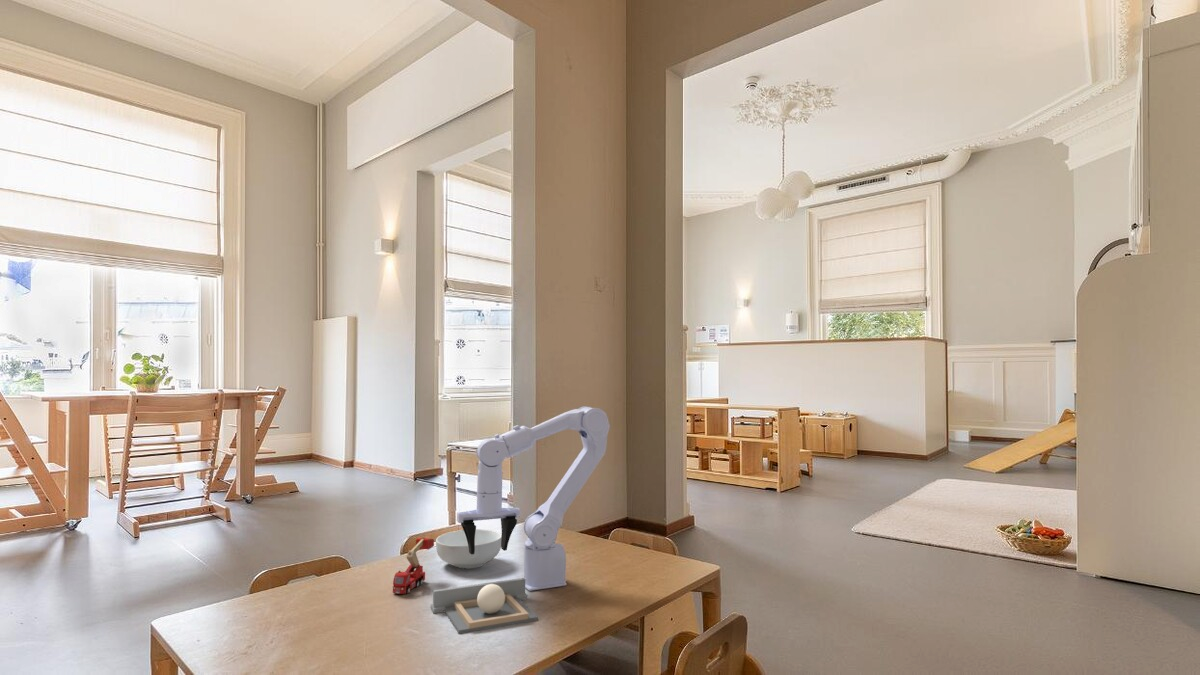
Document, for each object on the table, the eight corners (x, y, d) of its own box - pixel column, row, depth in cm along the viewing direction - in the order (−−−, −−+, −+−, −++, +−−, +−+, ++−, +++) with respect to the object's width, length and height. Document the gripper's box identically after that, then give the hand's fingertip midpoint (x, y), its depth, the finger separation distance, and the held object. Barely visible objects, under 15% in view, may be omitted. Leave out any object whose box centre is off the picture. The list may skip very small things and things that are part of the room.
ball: (496, 606, 130) (497, 578, 131) (509, 614, 126) (510, 586, 126) (471, 611, 127) (473, 583, 127) (484, 620, 123) (485, 591, 123)
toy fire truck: (390, 595, 137) (392, 550, 138) (420, 575, 151) (421, 535, 152) (404, 596, 137) (406, 551, 137) (433, 577, 150) (434, 536, 151)
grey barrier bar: (522, 594, 139) (523, 576, 139) (527, 598, 136) (527, 580, 137) (430, 608, 130) (431, 588, 130) (433, 613, 127) (434, 593, 128)
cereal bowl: (471, 551, 173) (471, 525, 173) (514, 562, 163) (515, 535, 163) (421, 565, 159) (422, 537, 159) (465, 579, 149) (466, 549, 150)
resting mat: (517, 600, 135) (518, 592, 136) (537, 620, 125) (537, 611, 125) (444, 611, 128) (444, 603, 128) (458, 633, 118) (458, 625, 118)
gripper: (513, 486, 151) (512, 543, 150) (454, 490, 144) (452, 550, 143) (523, 491, 144) (522, 551, 144) (461, 496, 138) (460, 558, 137)
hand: (488, 551), depth 143 cm, fingers open, 7 cm apart
